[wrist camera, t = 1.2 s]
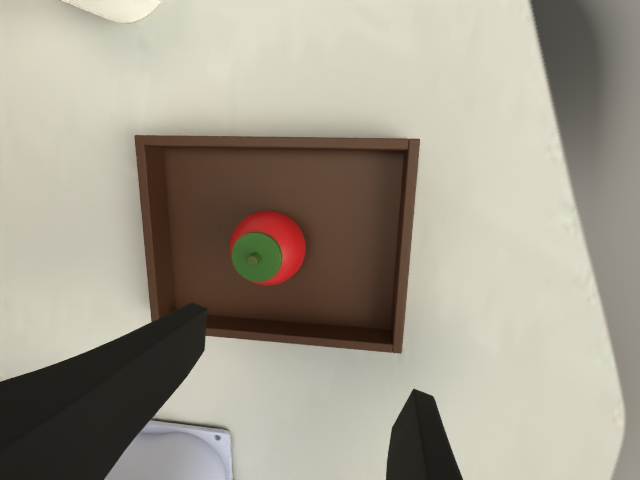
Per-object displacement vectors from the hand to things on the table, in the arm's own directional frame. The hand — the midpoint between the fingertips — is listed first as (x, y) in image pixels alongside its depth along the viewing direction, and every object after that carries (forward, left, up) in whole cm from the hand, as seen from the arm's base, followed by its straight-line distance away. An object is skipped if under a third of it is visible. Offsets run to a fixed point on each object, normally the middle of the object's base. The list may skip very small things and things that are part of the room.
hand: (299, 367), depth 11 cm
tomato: (-4, +2, -12) cm, 12 cm away
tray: (-4, +2, -12) cm, 13 cm away
